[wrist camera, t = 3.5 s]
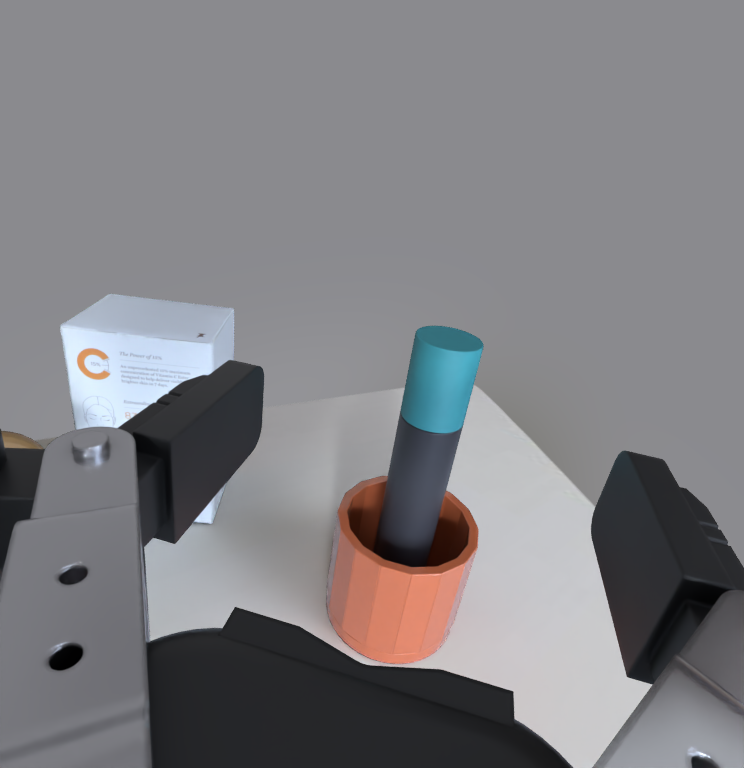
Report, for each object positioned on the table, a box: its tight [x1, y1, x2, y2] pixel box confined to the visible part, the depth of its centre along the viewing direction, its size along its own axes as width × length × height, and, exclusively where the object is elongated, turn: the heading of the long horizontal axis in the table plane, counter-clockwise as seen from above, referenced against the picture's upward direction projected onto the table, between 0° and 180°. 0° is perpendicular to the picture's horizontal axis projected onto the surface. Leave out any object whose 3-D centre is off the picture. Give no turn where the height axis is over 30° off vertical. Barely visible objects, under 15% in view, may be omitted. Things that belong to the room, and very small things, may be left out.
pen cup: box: [326, 476, 478, 664], centre depth 28 cm, size 7×7×6 cm
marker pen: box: [373, 326, 483, 567], centre depth 25 cm, size 3×3×16 cm
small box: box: [60, 294, 234, 523], centre depth 32 cm, size 8×6×13 cm
